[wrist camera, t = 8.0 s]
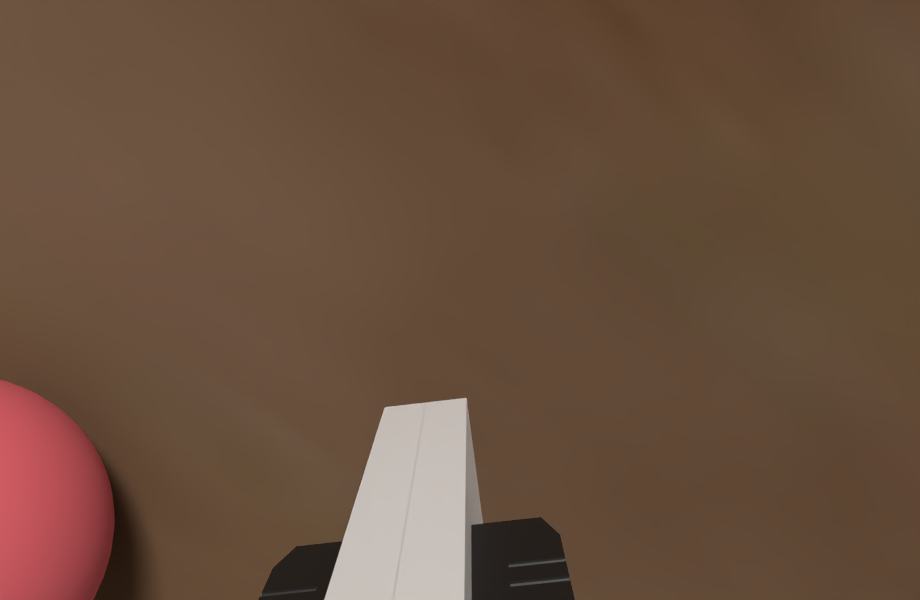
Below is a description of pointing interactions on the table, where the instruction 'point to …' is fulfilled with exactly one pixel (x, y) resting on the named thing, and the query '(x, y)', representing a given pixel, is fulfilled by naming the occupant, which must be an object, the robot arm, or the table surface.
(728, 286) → the table surface
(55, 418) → the ball
